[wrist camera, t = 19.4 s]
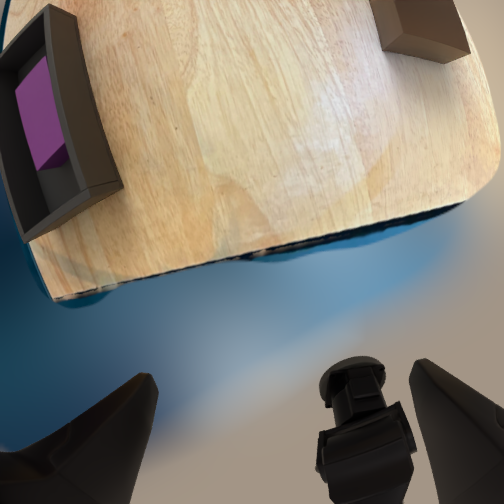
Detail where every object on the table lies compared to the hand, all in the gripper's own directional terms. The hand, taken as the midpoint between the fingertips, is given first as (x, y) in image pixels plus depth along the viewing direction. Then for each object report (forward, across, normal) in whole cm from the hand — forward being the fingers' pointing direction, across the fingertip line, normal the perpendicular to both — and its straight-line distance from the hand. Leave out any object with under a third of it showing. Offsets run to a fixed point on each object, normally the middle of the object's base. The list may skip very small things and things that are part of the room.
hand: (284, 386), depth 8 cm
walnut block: (+13, -12, -18) cm, 25 cm away
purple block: (+11, +16, -10) cm, 21 cm away
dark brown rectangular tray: (+13, +18, -14) cm, 27 cm away
